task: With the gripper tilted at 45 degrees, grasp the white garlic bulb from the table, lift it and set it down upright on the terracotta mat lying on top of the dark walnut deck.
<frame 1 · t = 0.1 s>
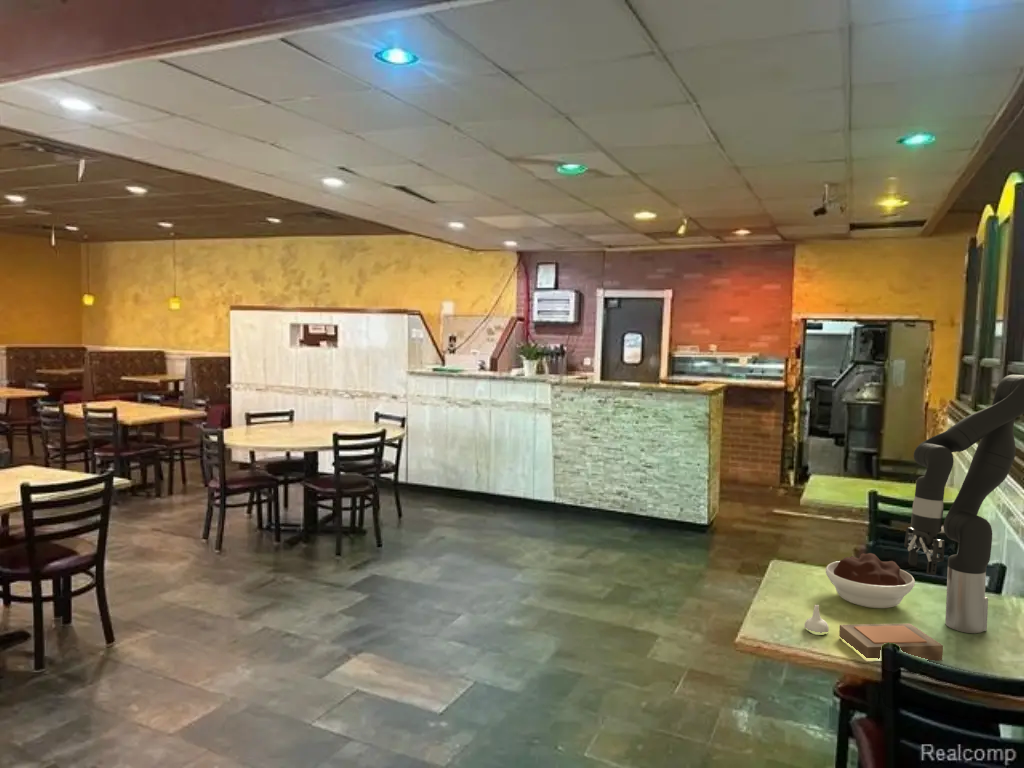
hand: (921, 569, 199), 17 cm above the table, tool pointing down, fingers open, 8 cm apart
garlic bulb: (816, 632, 198), on the table
mat: (889, 634, 186), resting on deck
bowl of brown food: (868, 602, 220), on the table
deck: (889, 649, 187), on the table
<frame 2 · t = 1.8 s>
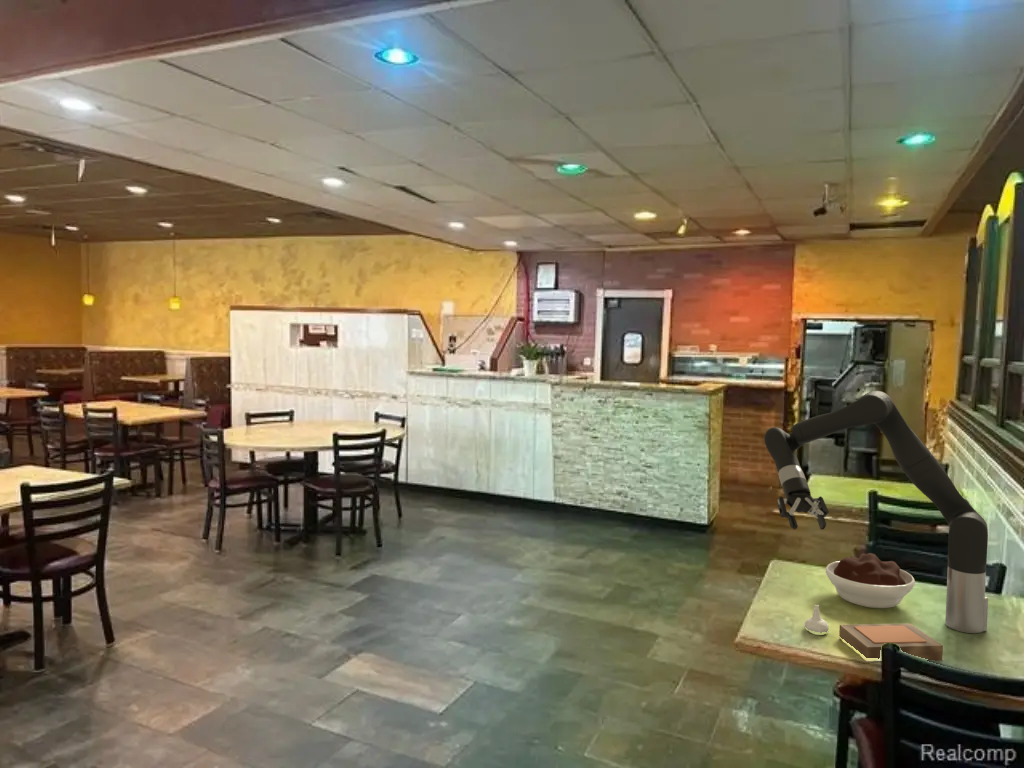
hand: (809, 528, 210), 26 cm above the table, tool tilted 45°, fingers open, 8 cm apart
nothing on the table moved.
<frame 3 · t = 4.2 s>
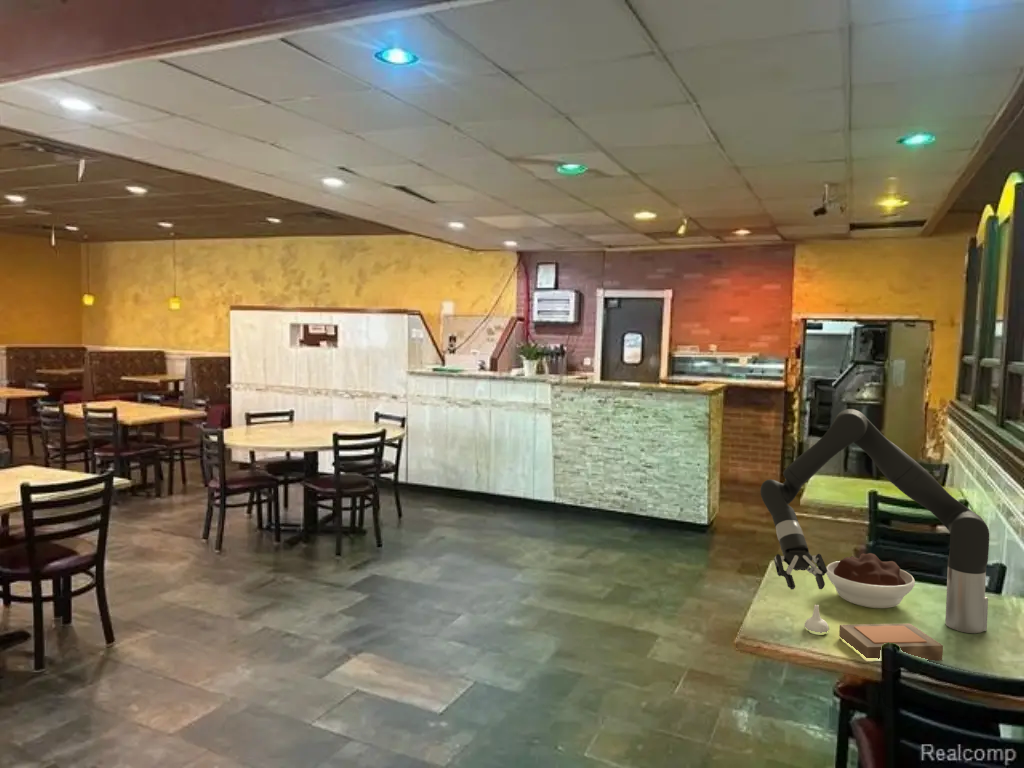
hand: (807, 588, 203), 10 cm above the table, tool tilted 45°, fingers open, 8 cm apart
nothing on the table moved.
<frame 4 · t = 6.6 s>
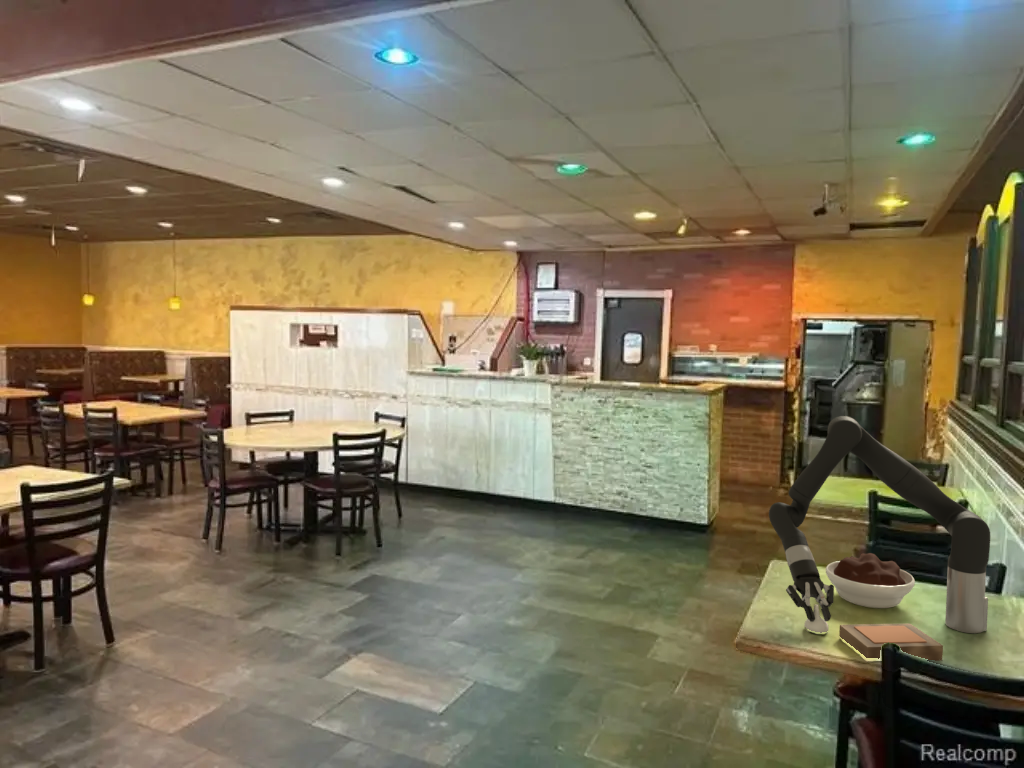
hand: (820, 620, 196), 4 cm above the table, tool tilted 45°, fingers closed on garlic bulb, 3 cm apart
garlic bulb: (816, 632, 198), on the table, touching gripper
everything else where it was.
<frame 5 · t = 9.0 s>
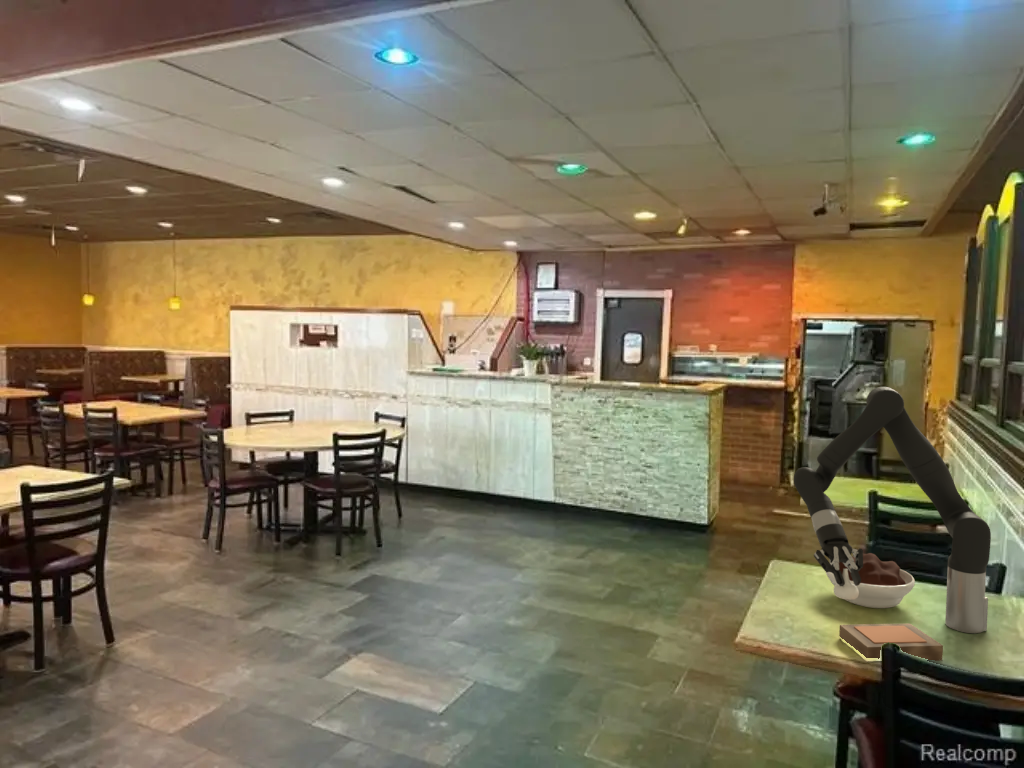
hand: (850, 584, 191), 16 cm above the table, tool tilted 45°, fingers closed on garlic bulb, 3 cm apart
garlic bulb: (846, 597, 193), point 12 cm above the table, touching gripper
everything else where it was.
when the fingers open (10 cm above the table, at t = 11.6 s): garlic bulb drops 1 cm, resting on mat.
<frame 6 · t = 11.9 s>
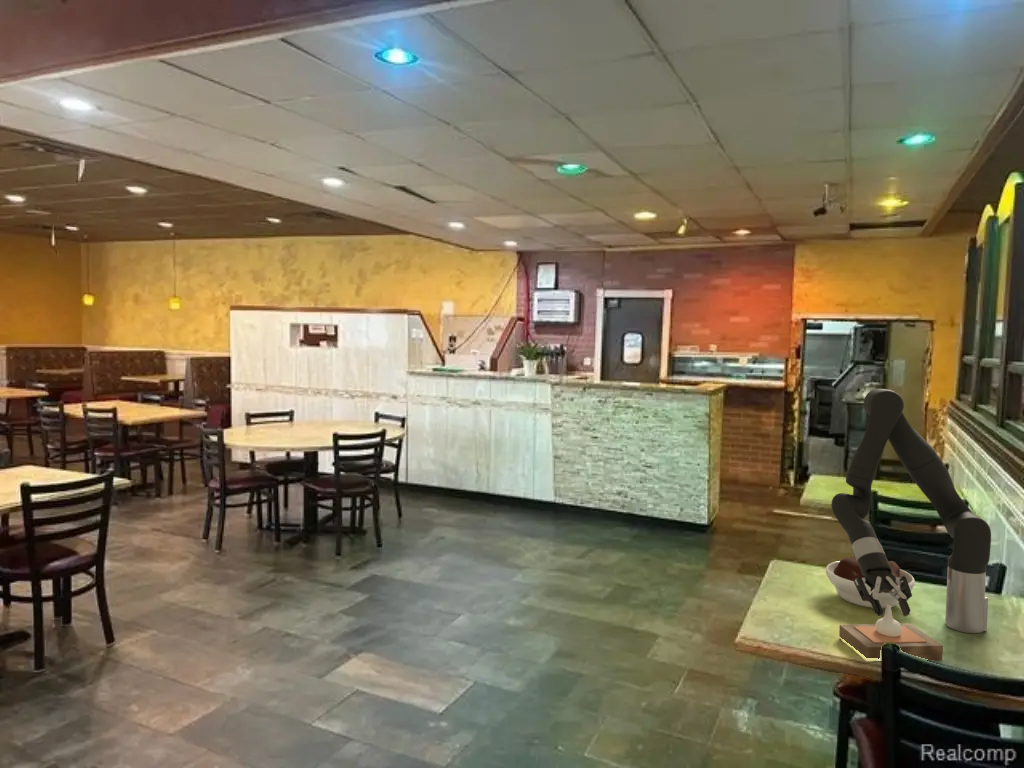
hand: (894, 614, 184), 10 cm above the table, tool tilted 45°, fingers open, 6 cm apart
garlic bulb: (888, 634, 187), point 4 cm above the table, touching mat
everything else where it was.
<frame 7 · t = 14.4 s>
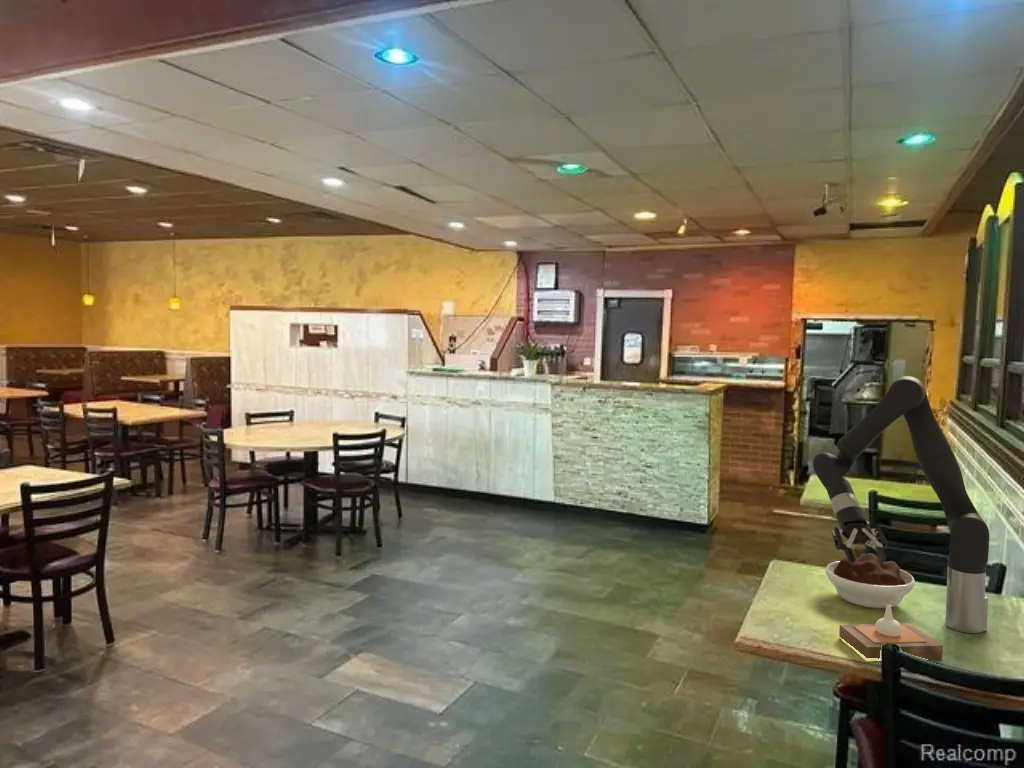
hand: (868, 561, 196), 20 cm above the table, tool tilted 45°, fingers open, 8 cm apart
nothing on the table moved.
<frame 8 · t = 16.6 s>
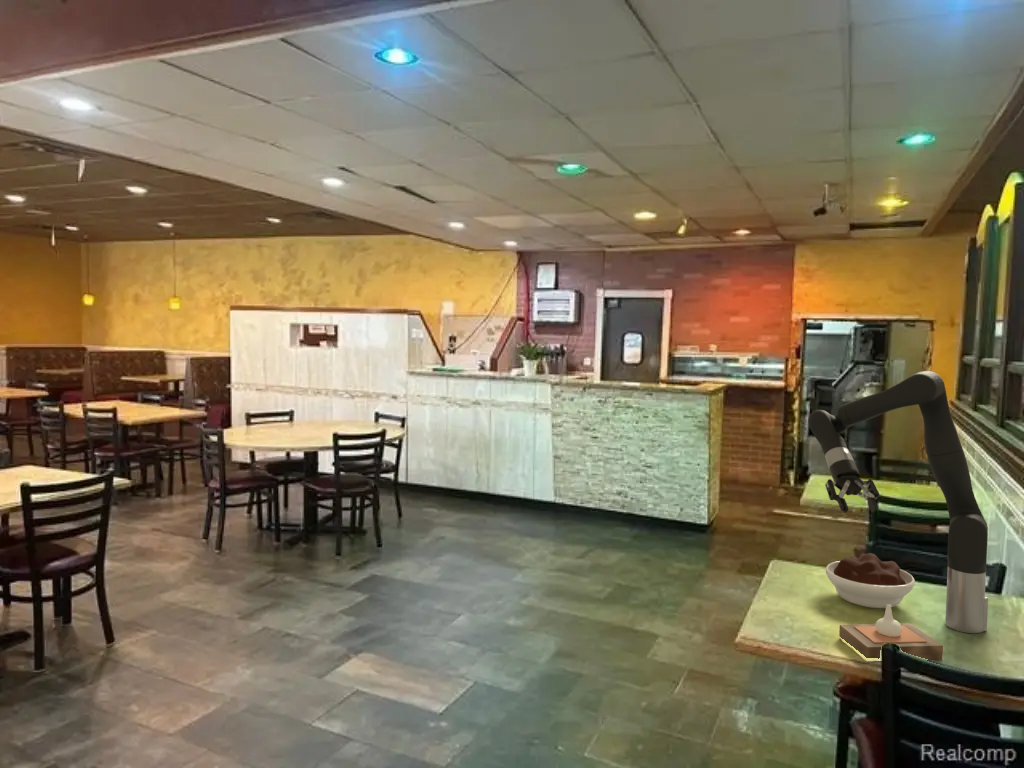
hand: (860, 511, 204), 33 cm above the table, tool tilted 45°, fingers open, 8 cm apart
nothing on the table moved.
at the end: garlic bulb inside the target area on the deck (0.3 cm from its centre), point 4.1 cm above the deck's base; the gripper is holding nothing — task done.
